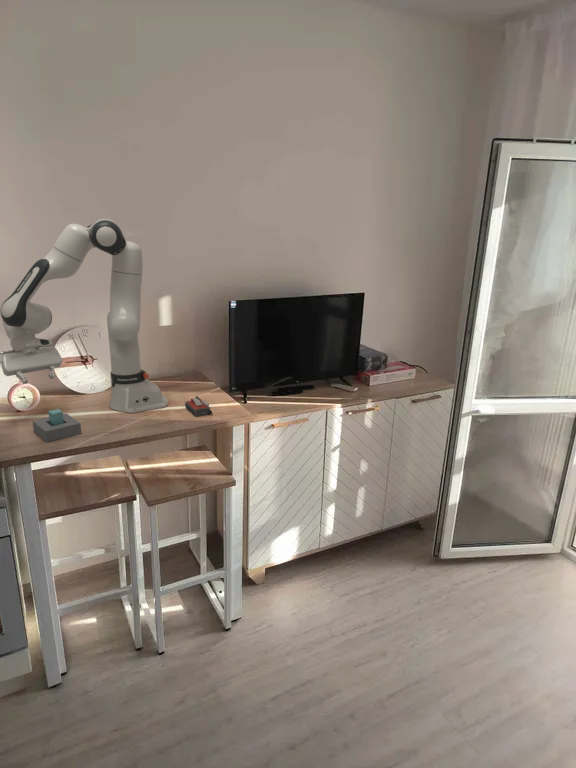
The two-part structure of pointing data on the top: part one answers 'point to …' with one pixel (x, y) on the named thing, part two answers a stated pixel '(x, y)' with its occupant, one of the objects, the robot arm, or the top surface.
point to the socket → (56, 428)
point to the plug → (56, 417)
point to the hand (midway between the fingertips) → (39, 380)
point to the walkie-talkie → (198, 407)
